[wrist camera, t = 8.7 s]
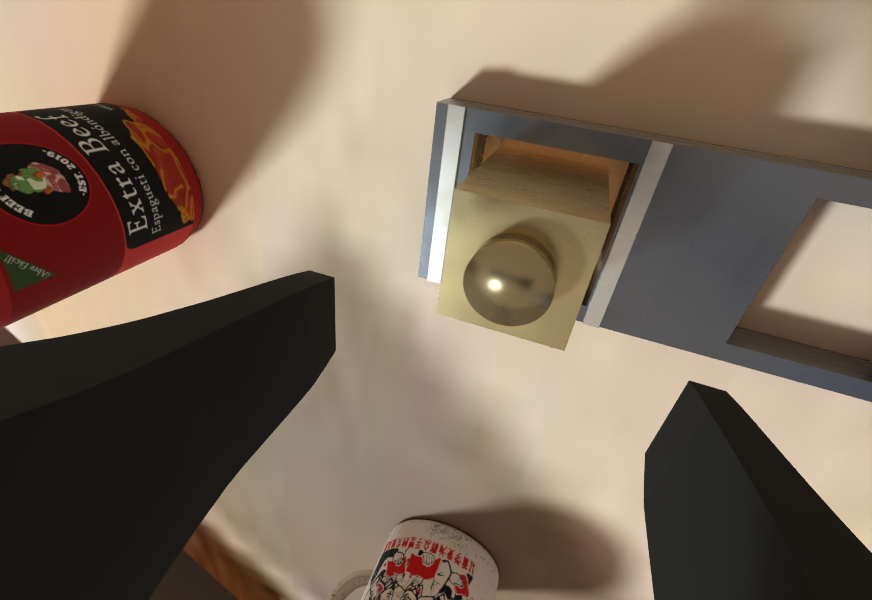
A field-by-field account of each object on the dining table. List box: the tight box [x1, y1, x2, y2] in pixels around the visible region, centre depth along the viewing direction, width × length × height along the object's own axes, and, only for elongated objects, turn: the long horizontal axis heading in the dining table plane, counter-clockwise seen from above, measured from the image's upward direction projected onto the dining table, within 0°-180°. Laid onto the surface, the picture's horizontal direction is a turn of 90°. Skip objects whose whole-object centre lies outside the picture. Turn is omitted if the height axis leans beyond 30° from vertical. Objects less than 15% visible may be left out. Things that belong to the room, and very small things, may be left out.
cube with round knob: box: [437, 147, 611, 351], centre depth 14 cm, size 4×4×7 cm
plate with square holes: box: [418, 98, 872, 402], centre depth 15 cm, size 7×19×2 cm, turn 83°
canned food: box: [0, 103, 202, 329], centre depth 18 cm, size 8×8×11 cm
